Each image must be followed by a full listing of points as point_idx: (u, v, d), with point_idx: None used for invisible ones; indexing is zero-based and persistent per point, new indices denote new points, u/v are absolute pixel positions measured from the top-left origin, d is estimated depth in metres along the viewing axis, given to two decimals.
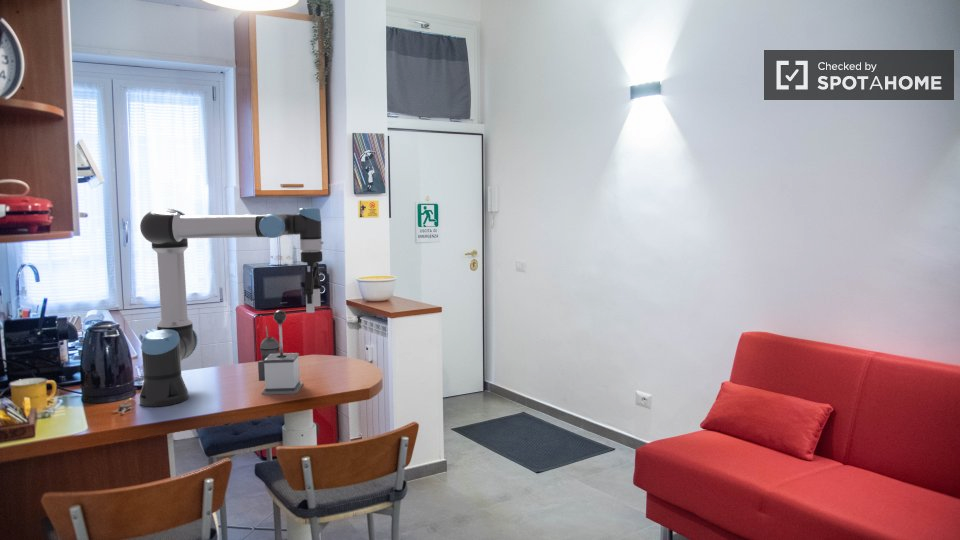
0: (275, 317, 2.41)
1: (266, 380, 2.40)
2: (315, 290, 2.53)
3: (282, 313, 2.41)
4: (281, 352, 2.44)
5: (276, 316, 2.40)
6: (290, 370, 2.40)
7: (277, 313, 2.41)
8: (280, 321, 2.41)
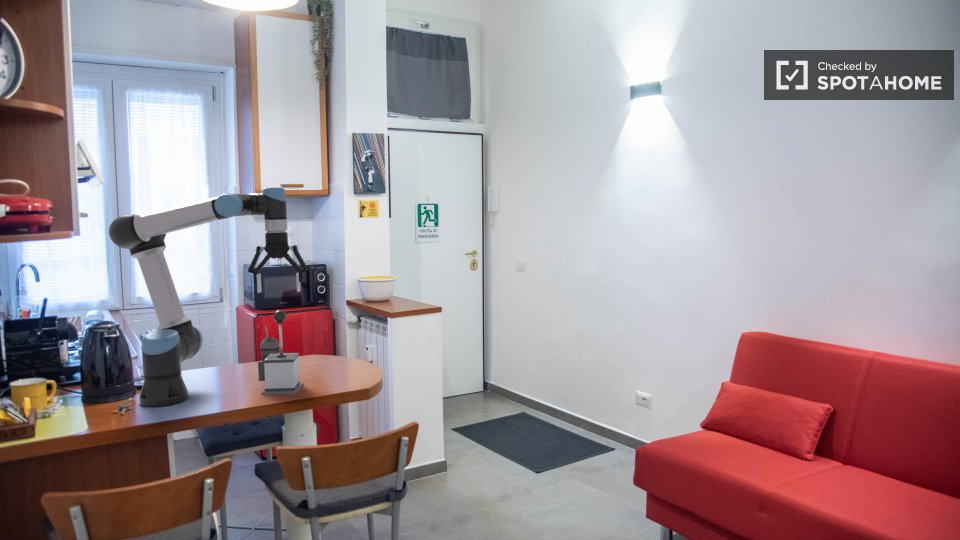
0: (275, 317, 2.41)
1: (266, 380, 2.40)
2: None
3: (282, 313, 2.41)
4: (281, 352, 2.44)
5: (276, 316, 2.40)
6: (290, 370, 2.40)
7: (277, 313, 2.41)
8: (280, 321, 2.41)
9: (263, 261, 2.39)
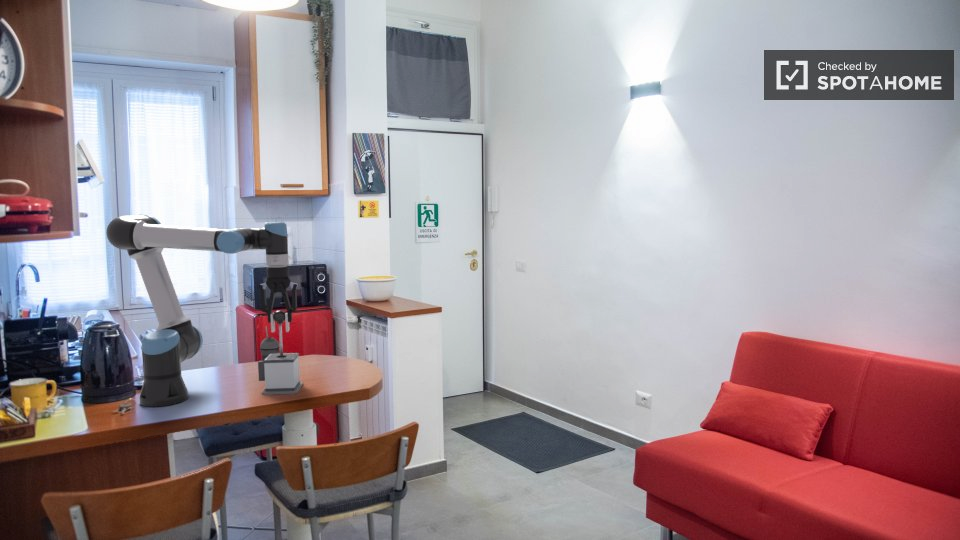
0: (275, 317, 2.41)
1: (266, 380, 2.40)
2: None
3: (282, 313, 2.41)
4: (281, 352, 2.44)
5: (276, 316, 2.40)
6: (290, 370, 2.40)
7: (277, 313, 2.41)
8: (280, 321, 2.41)
9: (271, 298, 2.41)
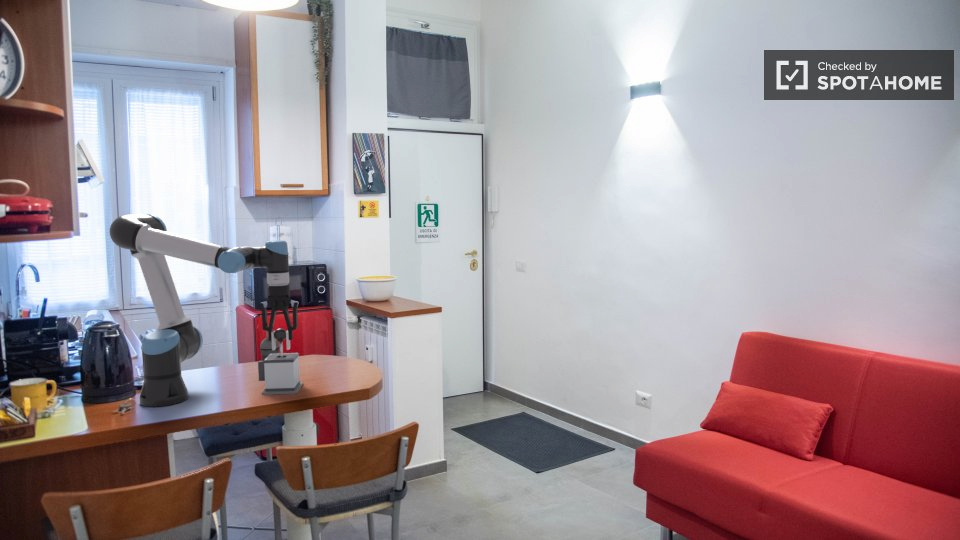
0: (276, 335, 2.41)
1: (266, 380, 2.40)
2: None
3: (283, 331, 2.42)
4: None
5: (277, 335, 2.41)
6: (290, 370, 2.40)
7: (278, 331, 2.42)
8: (281, 339, 2.42)
9: (271, 316, 2.41)
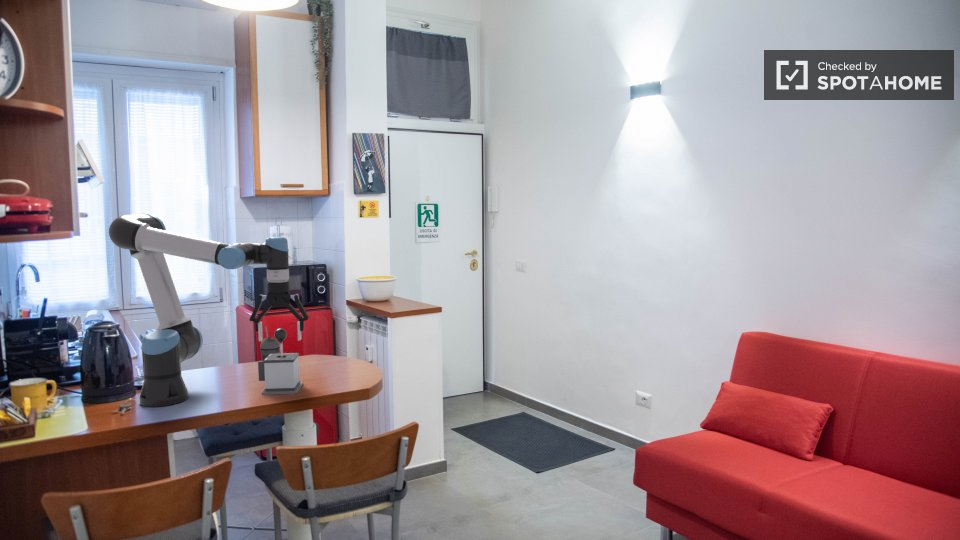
0: (276, 335, 2.41)
1: (266, 380, 2.40)
2: None
3: (283, 331, 2.42)
4: None
5: (277, 335, 2.41)
6: (290, 370, 2.40)
7: (278, 331, 2.42)
8: (281, 339, 2.42)
9: (265, 310, 2.41)
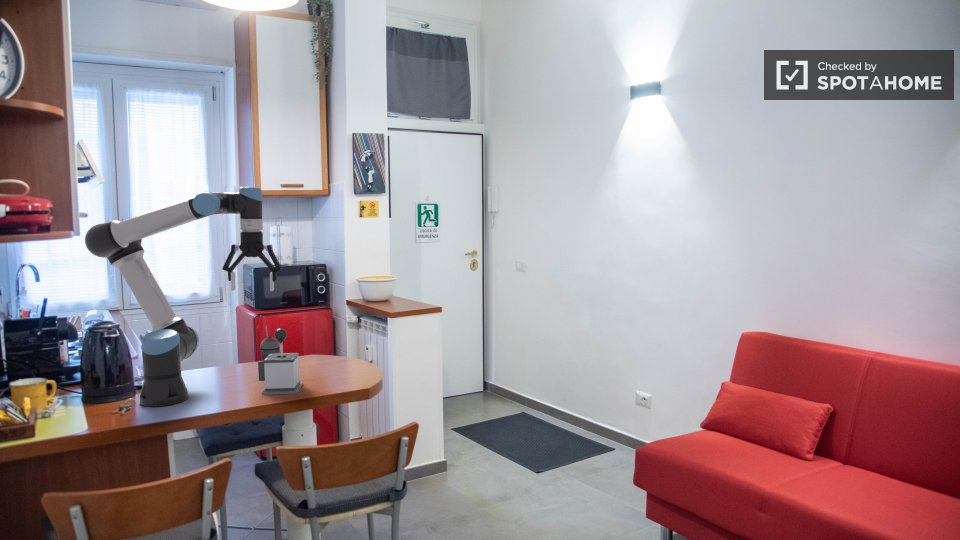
0: (276, 335, 2.41)
1: (266, 380, 2.40)
2: None
3: (283, 331, 2.42)
4: None
5: (277, 335, 2.41)
6: (290, 370, 2.40)
7: (278, 331, 2.42)
8: (281, 339, 2.42)
9: (237, 259, 2.42)
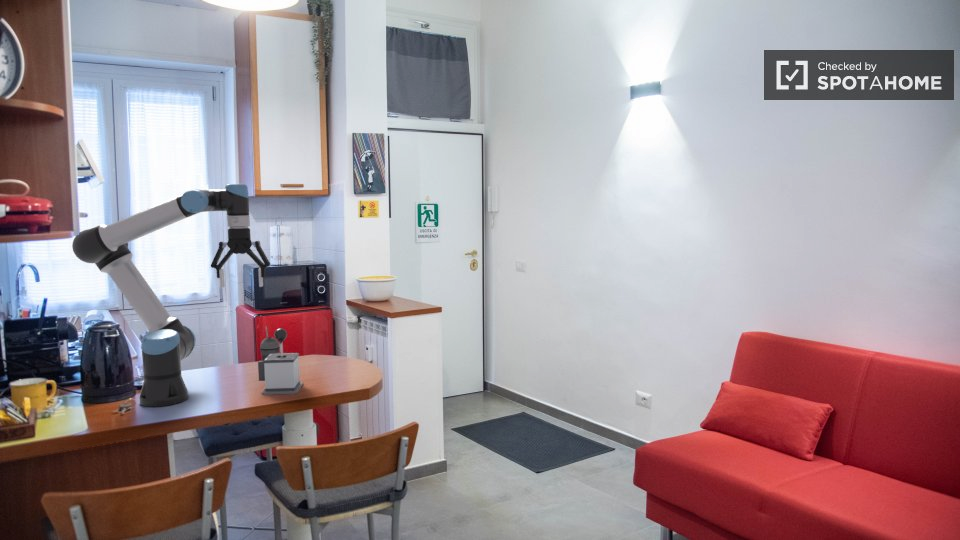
0: (276, 335, 2.41)
1: (266, 380, 2.40)
2: None
3: (283, 331, 2.42)
4: None
5: (277, 335, 2.41)
6: (290, 370, 2.40)
7: (278, 331, 2.42)
8: (281, 339, 2.42)
9: (226, 256, 2.43)
